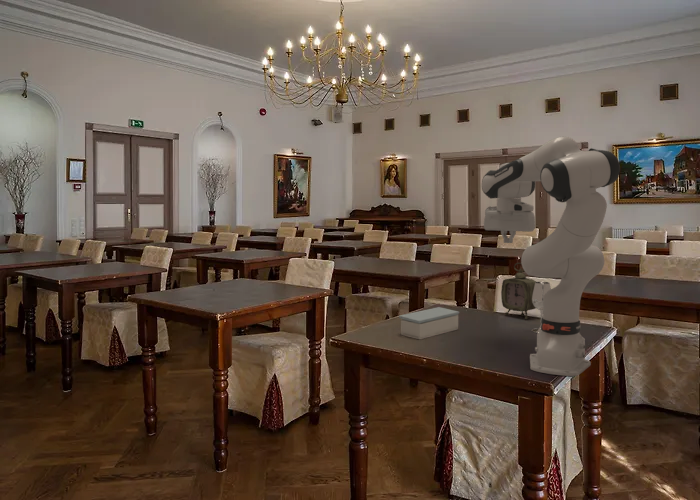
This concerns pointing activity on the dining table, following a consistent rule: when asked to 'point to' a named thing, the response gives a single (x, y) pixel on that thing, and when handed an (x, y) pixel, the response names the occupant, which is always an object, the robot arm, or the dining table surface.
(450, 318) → the white open box
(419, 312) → the panel
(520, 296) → the tabletop clock
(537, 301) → the wineglass
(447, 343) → the dining table surface
